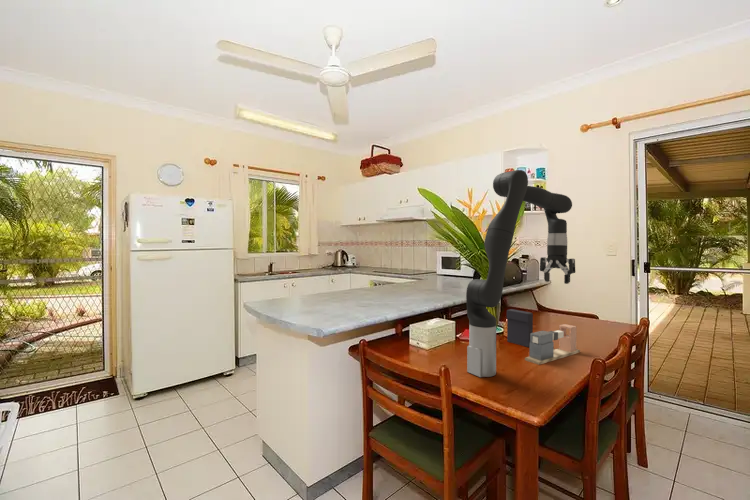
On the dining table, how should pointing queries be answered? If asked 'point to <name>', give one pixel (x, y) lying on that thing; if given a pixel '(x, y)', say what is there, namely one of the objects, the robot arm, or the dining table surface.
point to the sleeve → (541, 346)
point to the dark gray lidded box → (519, 327)
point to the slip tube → (556, 336)
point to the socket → (568, 338)
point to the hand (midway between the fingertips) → (556, 282)
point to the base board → (557, 355)
